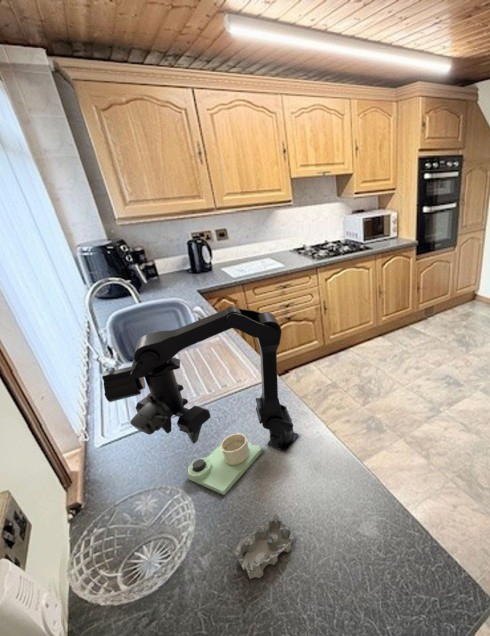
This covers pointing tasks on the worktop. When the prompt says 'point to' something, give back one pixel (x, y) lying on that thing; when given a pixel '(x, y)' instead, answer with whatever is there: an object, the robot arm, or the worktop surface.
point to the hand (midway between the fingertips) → (181, 437)
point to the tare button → (198, 465)
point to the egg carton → (264, 546)
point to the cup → (235, 449)
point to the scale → (222, 470)
